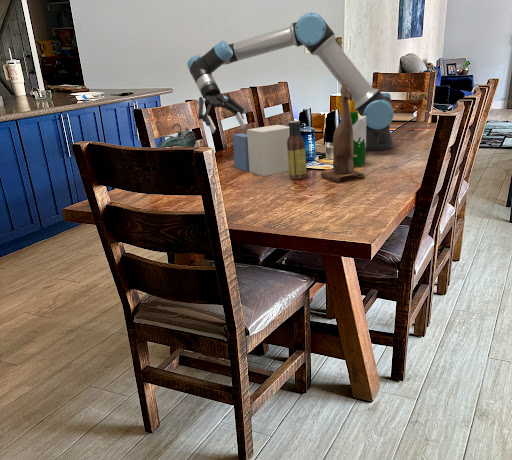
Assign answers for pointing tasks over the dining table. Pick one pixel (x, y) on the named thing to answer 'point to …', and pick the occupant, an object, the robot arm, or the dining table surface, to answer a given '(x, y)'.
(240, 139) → the blue rectangular block
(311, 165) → the dining table surface
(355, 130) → the milk carton
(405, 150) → the dining table surface
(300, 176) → the sauce bottle
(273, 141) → the light grey upright box
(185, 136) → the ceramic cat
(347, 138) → the bird sculpture
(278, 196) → the dining table surface
